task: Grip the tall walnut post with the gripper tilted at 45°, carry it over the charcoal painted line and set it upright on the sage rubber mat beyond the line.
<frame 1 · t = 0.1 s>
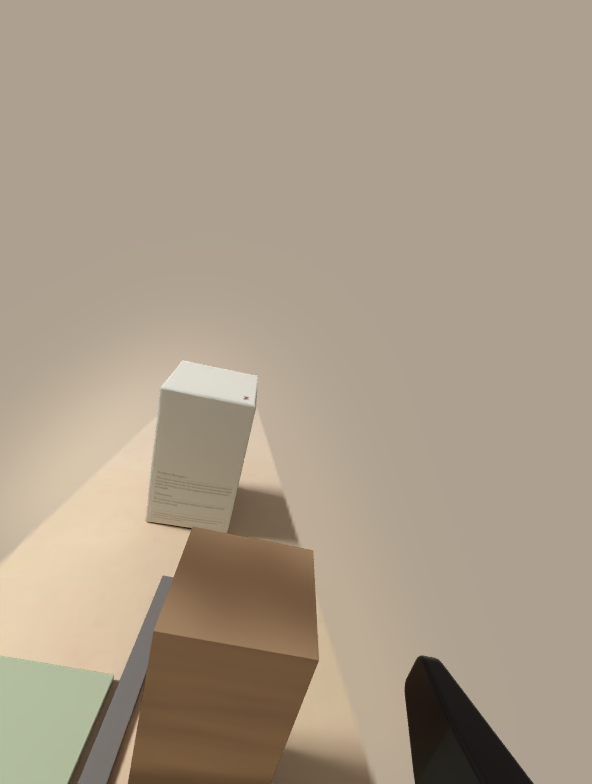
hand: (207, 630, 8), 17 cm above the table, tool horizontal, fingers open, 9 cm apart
supplement box: (193, 504, 36), on the table
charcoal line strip: (96, 774, 18), on the table
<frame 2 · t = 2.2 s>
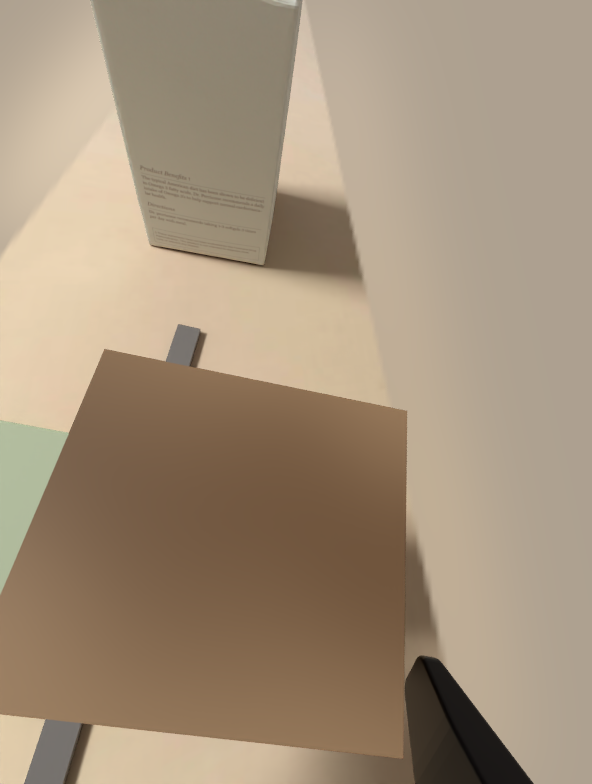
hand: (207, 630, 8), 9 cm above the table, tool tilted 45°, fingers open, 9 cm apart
walnut post: (225, 555, 17), on the table
supplement box: (216, 218, 25), on the table
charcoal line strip: (123, 539, 16), on the table
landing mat: (4, 547, 16), on the table
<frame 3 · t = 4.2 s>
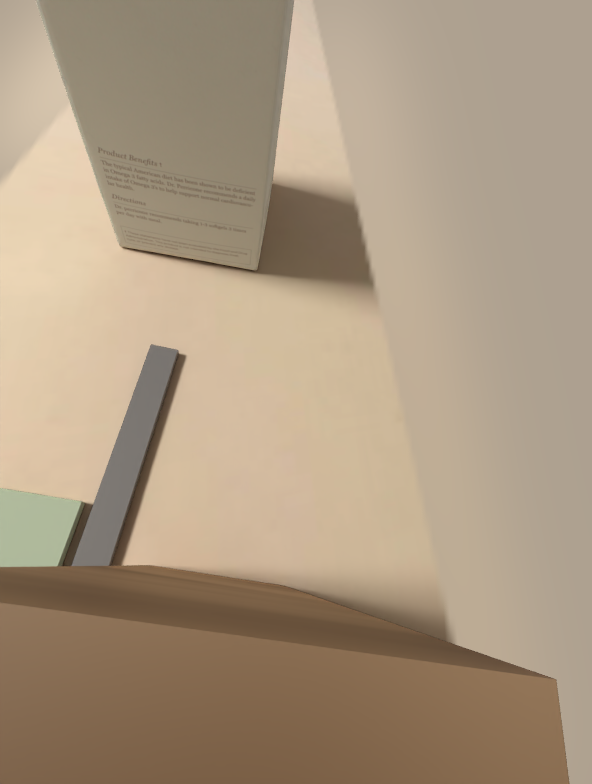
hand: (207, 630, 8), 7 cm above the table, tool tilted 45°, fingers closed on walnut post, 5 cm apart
walnut post: (203, 647, 13), on the table, touching gripper
supplement box: (200, 214, 21), on the table
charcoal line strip: (70, 630, 13), on the table
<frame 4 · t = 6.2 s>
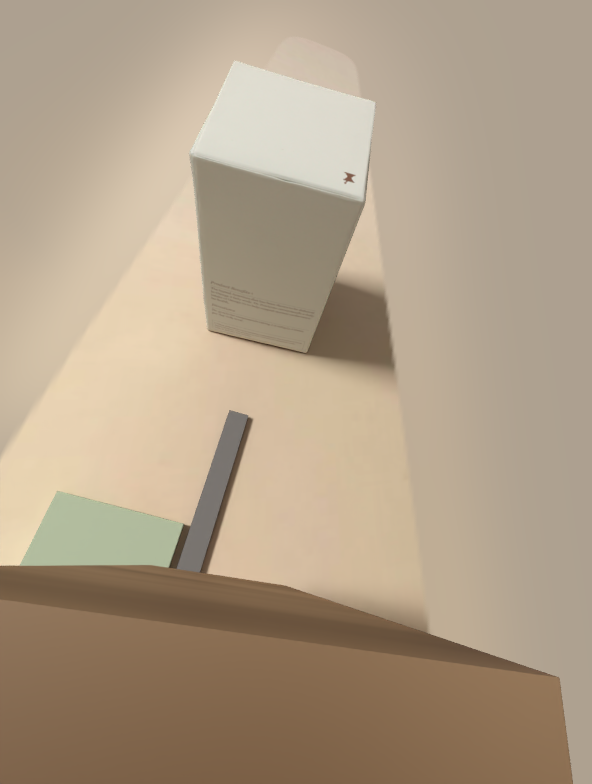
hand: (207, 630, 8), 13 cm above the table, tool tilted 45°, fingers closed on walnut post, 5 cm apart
walnut post: (204, 647, 13), point 7 cm above the table, touching gripper
supplement box: (266, 303, 28), on the table
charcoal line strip: (175, 610, 19), on the table
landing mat: (79, 612, 19), on the table
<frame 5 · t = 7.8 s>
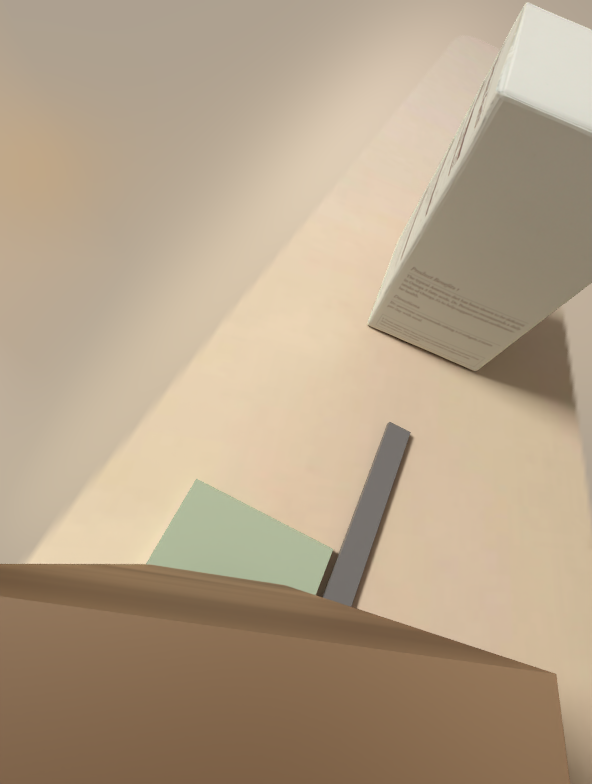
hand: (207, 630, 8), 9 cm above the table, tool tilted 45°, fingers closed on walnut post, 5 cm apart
walnut post: (203, 646, 13), point 2 cm above the table, touching gripper
supplement box: (430, 307, 24), on the table
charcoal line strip: (315, 658, 15), on the table
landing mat: (206, 633, 15), on the table
when the fingers open (8 cm above the table, at t = 8.7 s): walnut post drops 1 cm, resting on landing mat.
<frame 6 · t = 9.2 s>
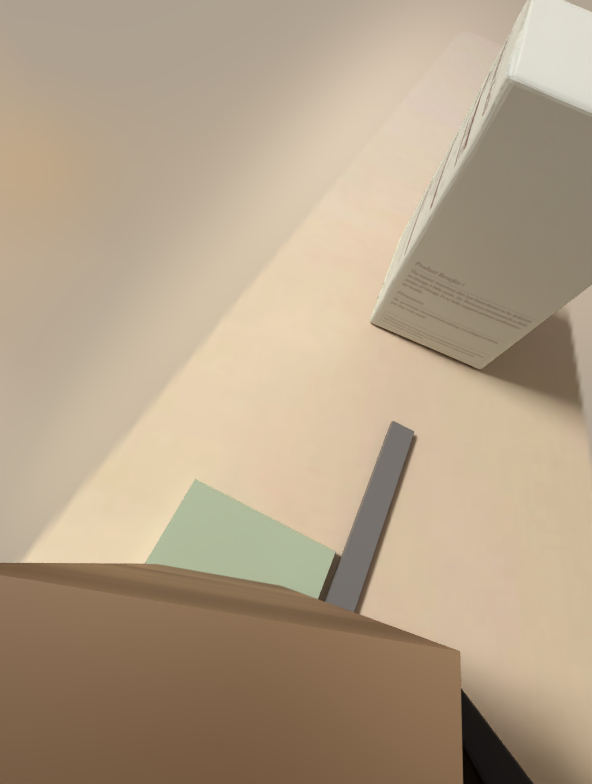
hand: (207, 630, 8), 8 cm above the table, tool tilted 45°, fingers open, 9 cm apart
walnut post: (204, 640, 14), resting on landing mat
supplement box: (433, 304, 24), on the table
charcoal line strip: (317, 664, 15), on the table
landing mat: (204, 638, 15), on the table
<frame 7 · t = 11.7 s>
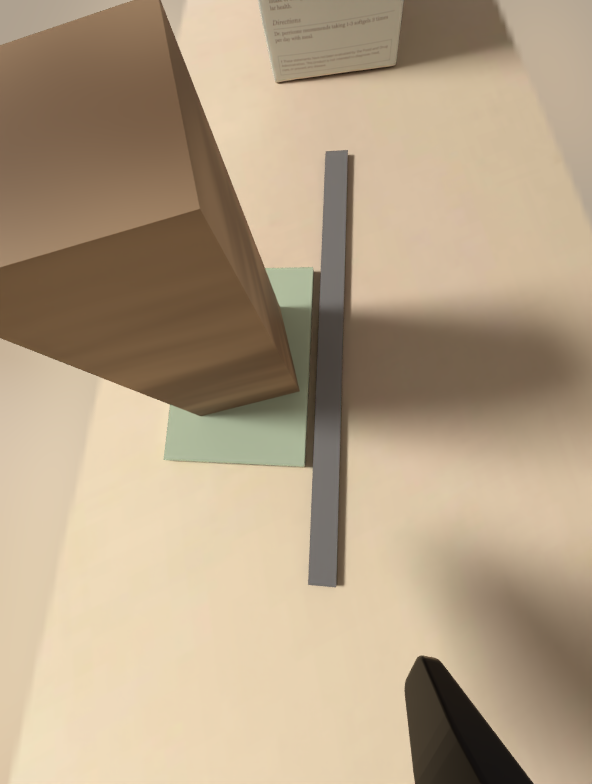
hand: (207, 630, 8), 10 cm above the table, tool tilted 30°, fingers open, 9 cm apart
walnut post: (240, 360, 19), resting on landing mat
supplement box: (331, 32, 23), on the table
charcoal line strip: (330, 344, 19), on the table
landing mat: (242, 362, 19), on the table
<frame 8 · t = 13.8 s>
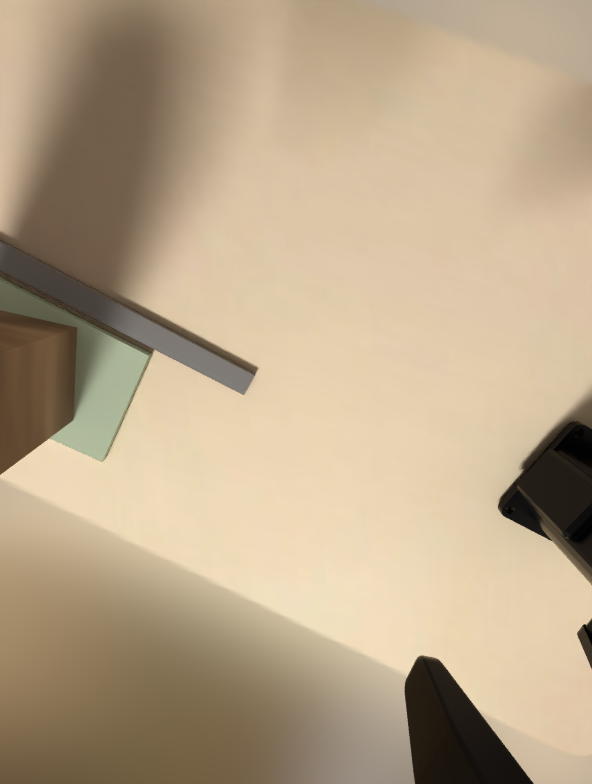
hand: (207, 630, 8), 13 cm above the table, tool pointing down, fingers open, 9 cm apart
walnut post: (29, 366, 19), resting on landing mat
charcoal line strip: (40, 274, 18), on the table
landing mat: (34, 364, 19), on the table
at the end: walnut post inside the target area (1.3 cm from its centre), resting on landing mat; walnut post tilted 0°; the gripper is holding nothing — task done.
